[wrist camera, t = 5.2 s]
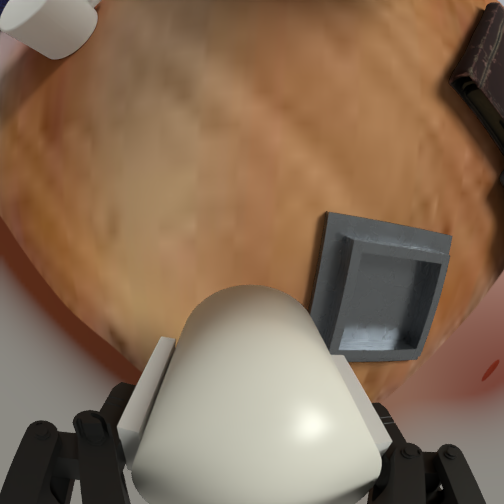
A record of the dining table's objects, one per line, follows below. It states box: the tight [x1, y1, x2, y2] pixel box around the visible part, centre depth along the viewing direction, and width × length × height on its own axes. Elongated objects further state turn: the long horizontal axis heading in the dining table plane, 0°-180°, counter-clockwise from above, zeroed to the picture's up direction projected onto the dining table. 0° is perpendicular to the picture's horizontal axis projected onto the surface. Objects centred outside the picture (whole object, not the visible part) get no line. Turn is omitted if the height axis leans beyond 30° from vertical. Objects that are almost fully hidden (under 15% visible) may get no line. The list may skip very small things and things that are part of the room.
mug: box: [0, 0, 101, 59], centre depth 17 cm, size 8×10×12 cm
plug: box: [131, 285, 382, 504], centre depth 11 cm, size 8×8×10 cm
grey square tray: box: [308, 211, 452, 362], centre depth 28 cm, size 16×16×4 cm
